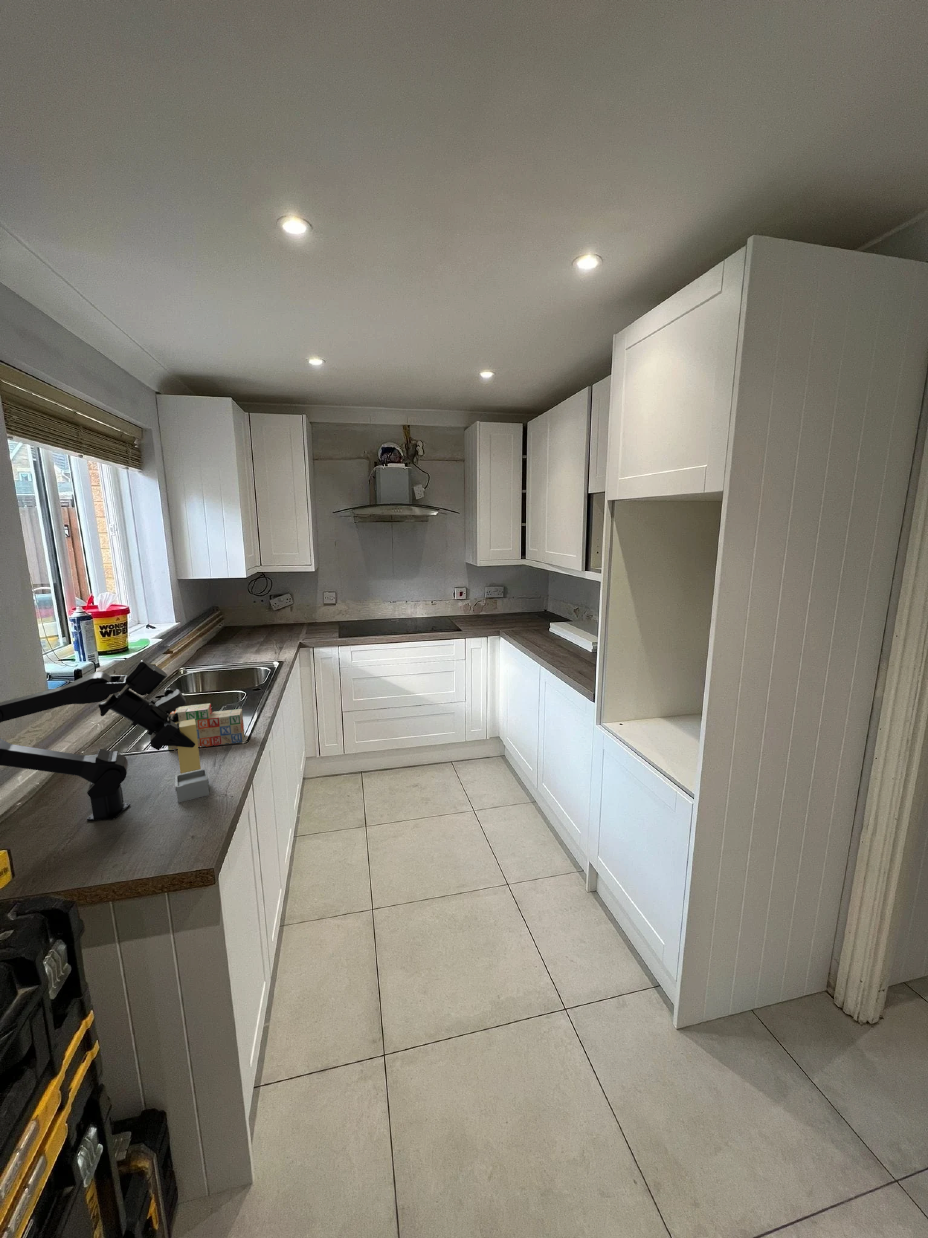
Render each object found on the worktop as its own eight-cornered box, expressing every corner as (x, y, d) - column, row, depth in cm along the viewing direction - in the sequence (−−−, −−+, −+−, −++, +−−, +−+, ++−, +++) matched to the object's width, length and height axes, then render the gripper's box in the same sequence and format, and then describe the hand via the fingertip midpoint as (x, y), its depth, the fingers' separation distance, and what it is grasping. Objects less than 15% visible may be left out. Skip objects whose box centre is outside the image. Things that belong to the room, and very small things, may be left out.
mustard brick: (180, 773, 125) (175, 728, 123) (180, 766, 128) (174, 722, 126) (200, 769, 127) (195, 724, 125) (199, 762, 131) (194, 719, 129)
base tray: (177, 803, 124) (175, 787, 123) (176, 790, 130) (175, 775, 129) (210, 795, 127) (208, 779, 127) (208, 783, 134) (206, 768, 133)
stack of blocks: (245, 735, 166) (241, 699, 164) (242, 742, 160) (238, 705, 158) (173, 743, 160) (168, 707, 158) (167, 751, 154) (162, 713, 152)
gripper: (161, 692, 114) (219, 728, 121) (161, 673, 130) (213, 706, 137) (124, 732, 111) (186, 766, 119) (129, 708, 127) (183, 739, 134)
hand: (193, 742), depth 127 cm, fingers closed on mustard brick, 4 cm apart
